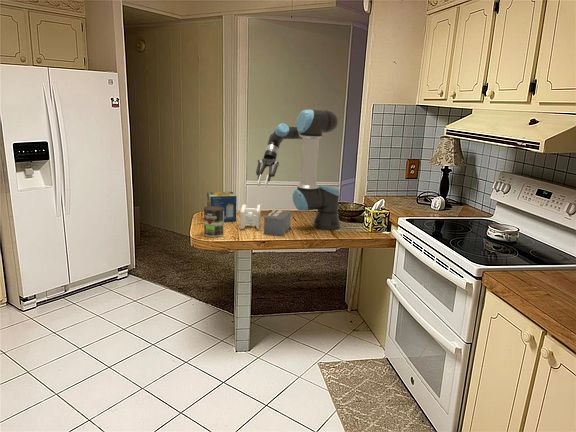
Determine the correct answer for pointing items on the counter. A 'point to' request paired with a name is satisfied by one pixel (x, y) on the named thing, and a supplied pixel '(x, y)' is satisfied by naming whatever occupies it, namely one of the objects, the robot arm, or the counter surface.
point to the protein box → (224, 203)
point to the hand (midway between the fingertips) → (262, 184)
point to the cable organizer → (250, 216)
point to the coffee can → (213, 221)
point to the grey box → (277, 222)
